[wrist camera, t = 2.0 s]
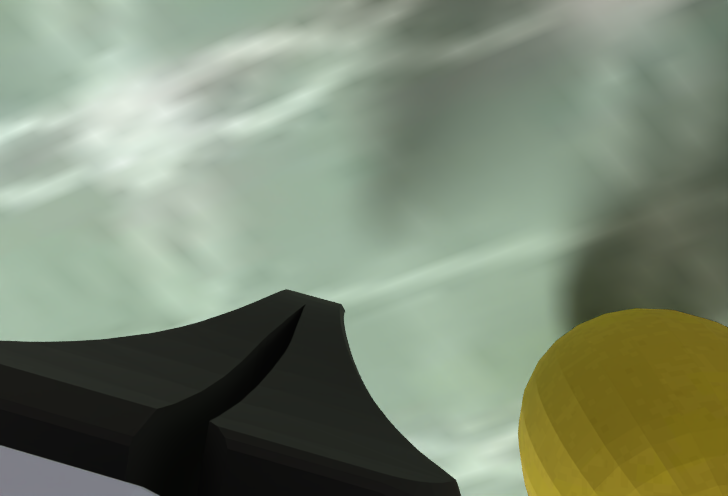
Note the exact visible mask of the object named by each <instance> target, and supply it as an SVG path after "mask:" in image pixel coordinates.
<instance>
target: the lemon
mask: <svg viewBox="0 0 728 496" xmlns="http://www.w3.org/2000/svg"><path fill="white" fill-rule="evenodd" d="M518 438H519V449H520V456H521V463H522V470H523V476H524V482H525V486H526V490H527V493H528V496H728V327H726V326H724V325H722V324H719V323H717V322H715V321H711V320H708V319H705V318H701V317H697V316H694V315H690V314H686V313H683V312H679V311H675V310H667V309H642V308H634V309H628V310H622V311H617V312H611V313H606V314H603V315H601V316H598V317H596V318H593V319H591V320H589V321H586V322H584V323H581V324H579V325H577V326H576V327H575V328H573V329H572V330H570V331H569V332H568V333H566V334H565V335H563V336H562V337H561V338H559V339H558V340H557V341H555V343H554V344H553V345H552V346H551V347H550V348H549V350H548V351H547V352H546V353H545V354H544V355H543V357H542V358H541V359H540V360H539V362H538V363H537V365H536V367H535V369H534V372H533V374H532V376H531V378H530V380H529V382H528V384H527V386H526V388H525V391H524V395H523V400H522V407H521V413H520V419H519V429H518Z"/></svg>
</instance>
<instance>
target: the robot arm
mask: <svg viewBox="0 0 728 496" xmlns="http://www.w3.org/2000/svg"><path fill="white" fill-rule="evenodd" d="M344 313H345V310H344V308H343V306H342V304H339V303H335V302H331V301H328V300H324V299H320V298H317V297H313V296H309V295H306V294H302V293H298V292H295V291H291V290H287V289H286V290H283V291H280V292H277V293H275V294H273V295H270V296H268V297H266V298H263V299H261V300H259V301H256V302H254V303H251V304H249V305H246V306H244V307H241V308H239V309H236V310H234V311H231V312H228V313H225V314H222V315H219V316H216V317H213V318H210V319H207V320H204V321H201V322H198V323H194V324H191V325H187V326H183V327H179V328H174V329H169V330H165V331H160V332H155V333H149V334H141V335H134V336H126V337H118V338H111V339H101V340H86V341H62V342H20V341H0V496H461V494H460V491H459V487H458V484H457V482H456V480H455V479H454V478H453V477H452V476H450V475H449V474H448V473H446V472H445V471H444V470H443V469H441V468H440V467H439V466H437V465H436V464H435V463H434V462H432V461H431V460H430V459H428V458H427V457H426V456H425V455H423V454H422V453H421V452H420V451H419V450H417V449H416V448H415V447H414V446H413V445H412V444H411V443H410V442H409V441H408V440H407V439H406V438H405V437H404V436H403V435H402V434H401V433H400V432H399V431H398V430H397V429H396V428H395V427H394V426H393V424H392V423H391V422H390V421H389V420H388V419H387V417H386V416H385V415H384V414H383V412H382V411H381V410H380V408H379V407H378V406H377V405H376V403H375V402H374V400H373V399H372V397H371V396H370V394H369V392H368V390H367V389H366V387H365V385H364V383H363V381H362V379H361V377H360V375H359V372H358V370H357V367H356V365H355V362H354V360H353V357H352V354H351V351H350V348H349V344H348V340H347V337H346V332H345V326H344Z"/></svg>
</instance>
